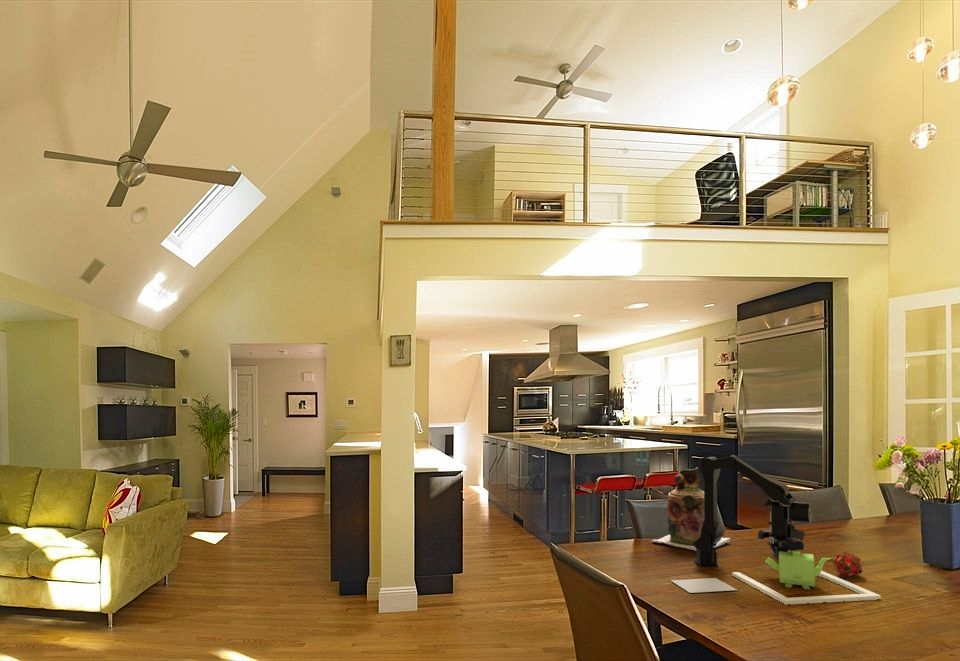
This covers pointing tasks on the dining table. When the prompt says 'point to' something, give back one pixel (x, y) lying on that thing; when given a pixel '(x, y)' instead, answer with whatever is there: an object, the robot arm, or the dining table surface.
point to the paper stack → (703, 585)
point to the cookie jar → (686, 512)
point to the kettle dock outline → (814, 599)
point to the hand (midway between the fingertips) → (781, 564)
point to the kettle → (797, 568)
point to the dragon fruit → (848, 565)
